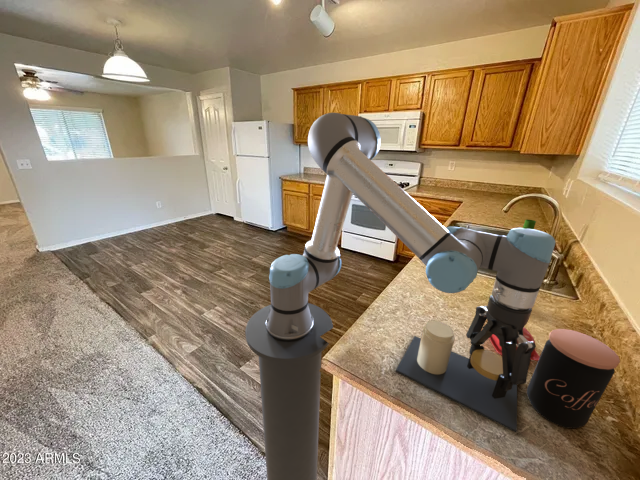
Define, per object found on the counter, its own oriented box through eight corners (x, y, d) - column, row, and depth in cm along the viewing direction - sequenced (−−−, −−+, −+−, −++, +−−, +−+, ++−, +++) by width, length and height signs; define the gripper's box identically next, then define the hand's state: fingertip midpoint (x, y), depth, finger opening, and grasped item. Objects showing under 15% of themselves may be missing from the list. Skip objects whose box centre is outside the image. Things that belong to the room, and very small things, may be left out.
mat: (395, 371, 69) (396, 369, 69) (414, 337, 81) (414, 335, 81) (516, 432, 55) (516, 430, 55) (516, 380, 67) (517, 378, 67)
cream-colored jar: (413, 365, 70) (420, 330, 66) (421, 348, 76) (428, 315, 72) (443, 379, 66) (452, 343, 62) (449, 360, 72) (458, 326, 68)
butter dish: (542, 365, 72) (553, 340, 69) (497, 358, 74) (505, 334, 71) (521, 336, 83) (529, 314, 80) (481, 331, 85) (488, 309, 82)
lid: (517, 378, 60) (519, 373, 59) (486, 382, 58) (488, 377, 58) (490, 352, 67) (492, 347, 66) (463, 355, 66) (464, 350, 65)
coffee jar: (527, 414, 59) (554, 351, 53) (522, 380, 67) (545, 322, 61) (591, 442, 54) (630, 375, 47) (578, 401, 62) (609, 340, 56)
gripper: (462, 278, 65) (445, 351, 73) (541, 335, 46) (505, 425, 54) (489, 276, 66) (469, 348, 74) (576, 331, 47) (536, 420, 55)
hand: (484, 380), depth 64 cm, fingers closed on lid, 8 cm apart
